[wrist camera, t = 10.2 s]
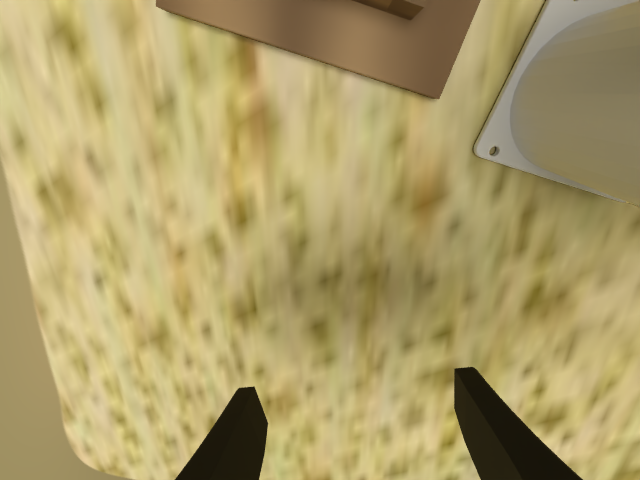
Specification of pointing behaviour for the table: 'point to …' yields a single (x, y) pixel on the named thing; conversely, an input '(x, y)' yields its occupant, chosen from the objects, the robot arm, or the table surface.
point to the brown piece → (351, 33)
